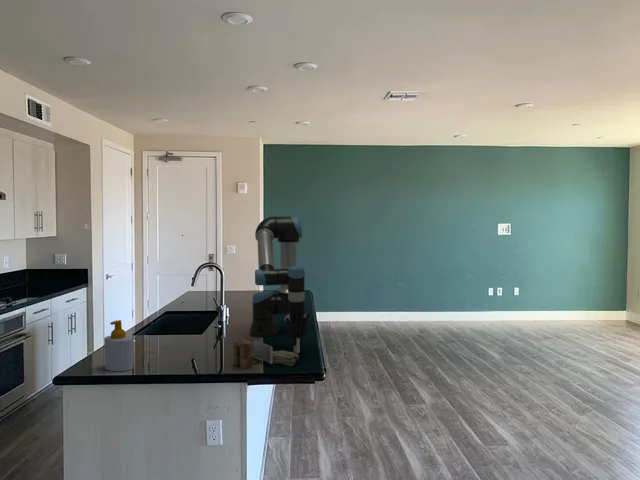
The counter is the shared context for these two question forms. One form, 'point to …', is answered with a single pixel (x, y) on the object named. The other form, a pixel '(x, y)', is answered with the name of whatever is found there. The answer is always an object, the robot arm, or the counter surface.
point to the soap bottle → (118, 349)
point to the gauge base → (243, 353)
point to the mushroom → (285, 358)
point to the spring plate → (263, 351)
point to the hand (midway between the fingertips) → (296, 352)
